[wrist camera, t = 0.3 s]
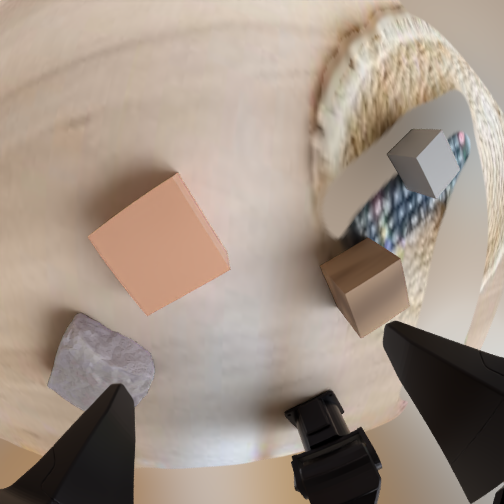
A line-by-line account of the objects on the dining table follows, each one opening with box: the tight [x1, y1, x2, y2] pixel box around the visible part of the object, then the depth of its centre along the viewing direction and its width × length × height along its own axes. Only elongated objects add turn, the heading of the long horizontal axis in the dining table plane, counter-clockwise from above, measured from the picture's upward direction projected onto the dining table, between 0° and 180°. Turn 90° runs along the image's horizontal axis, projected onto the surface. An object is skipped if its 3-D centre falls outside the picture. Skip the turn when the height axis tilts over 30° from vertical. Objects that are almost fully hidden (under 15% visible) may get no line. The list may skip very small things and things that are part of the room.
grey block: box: [387, 129, 460, 199], centre depth 19 cm, size 4×4×4 cm
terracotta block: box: [88, 173, 231, 316], centre depth 19 cm, size 7×7×4 cm
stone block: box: [47, 313, 155, 411], centre depth 22 cm, size 12×5×10 cm
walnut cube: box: [320, 238, 410, 338], centre depth 21 cm, size 5×5×5 cm
